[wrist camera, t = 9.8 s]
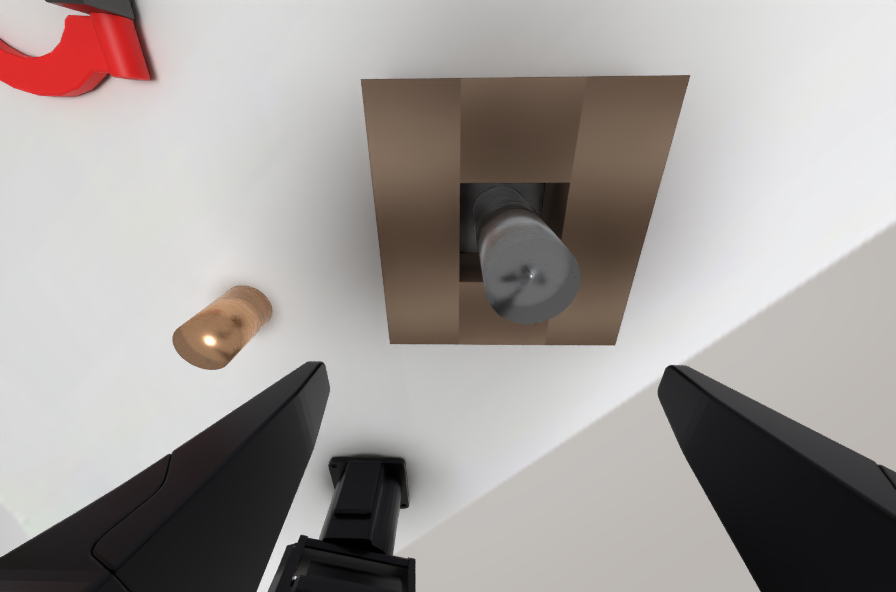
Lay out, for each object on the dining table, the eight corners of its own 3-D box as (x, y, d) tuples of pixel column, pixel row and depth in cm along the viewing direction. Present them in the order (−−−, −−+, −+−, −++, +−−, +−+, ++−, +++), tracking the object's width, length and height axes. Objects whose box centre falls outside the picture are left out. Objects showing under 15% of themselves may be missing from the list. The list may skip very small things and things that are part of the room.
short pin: (277, 325, 22) (238, 369, 18) (233, 325, 22) (185, 369, 18) (265, 285, 21) (220, 324, 17) (218, 285, 21) (162, 324, 17)
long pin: (523, 239, 19) (571, 324, 11) (471, 240, 19) (482, 323, 11) (529, 186, 18) (589, 238, 10) (473, 186, 18) (486, 238, 10)
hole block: (588, 307, 21) (615, 345, 18) (400, 307, 21) (389, 343, 18) (637, 85, 16) (690, 75, 12) (382, 88, 16) (360, 79, 12)
